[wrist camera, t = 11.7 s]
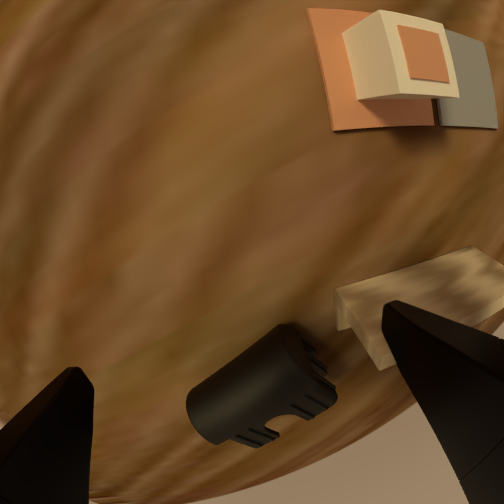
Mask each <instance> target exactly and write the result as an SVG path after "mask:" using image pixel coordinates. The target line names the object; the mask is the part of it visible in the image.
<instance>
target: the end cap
mask: <svg viewBox="0 0 504 504" xmlns="http://www.w3.org/2000/svg"><path fill="white" fill-rule="evenodd" d="M316 355H317V353H316V351H315V349H314V348H313V347H312V346H311V345H309V344H308V343H307V342H306V341H304V340H303V339H302V338H301V337H300V336H299V334H298V332H297V331H296V330H295V329H294V328H292V327H290V326H289V325H286V324H279V325H277V326H276V327H275V328H273V329H272V330H271V331H270V332H268V333H267V334H266V335H265V336H263V337H262V338H261V339H259V340H258V341H257V342H256V343H254V344H253V345H252V346H250V347H249V348H248V349H246V350H245V351H244V352H242V353H241V354H240V355H238V356H237V357H236V358H234V359H233V360H232V361H230V362H229V363H228V364H226V365H225V366H224V367H222V368H221V369H219V370H218V371H217V372H215V373H214V374H213V375H211V376H210V377H208V378H207V379H205V380H204V381H203V382H201V383H200V384H198V385H197V386H195V387H194V388H193V389H192V390H191V391H190V392H189V393H188V396H187V399H186V409H187V413H188V416H189V419H190V421H191V423H192V425H193V426H194V428H195V429H196V430H197V432H198V433H199V434H200V435H201V436H202V437H203V438H204V439H206V440H207V441H209V442H210V443H212V444H214V445H218V444H220V443H222V442H224V441H226V440H228V439H231V440H233V441H236V442H239V443H241V444H244V445H247V446H250V447H252V448H259V447H262V446H263V445H265V444H267V443H269V442H271V441H274V440H275V439H277V438H278V437H280V435H279V432H276V431H274V430H271V429H269V428H267V427H265V426H264V425H265V424H266V422H267V421H269V420H270V419H272V418H274V417H277V416H280V415H285V414H293V415H297V416H299V417H301V418H303V419H305V420H307V421H309V420H310V419H313V418H314V417H315V416H317V415H318V414H320V413H322V412H323V411H325V410H327V409H328V408H329V407H331V406H332V405H334V404H335V403H336V401H337V398H338V396H337V393H336V391H335V389H336V386H335V385H333V384H332V383H330V382H329V381H327V380H326V379H324V378H323V377H322V376H320V375H319V374H317V373H316V372H315V371H314V370H316V371H317V372H318V373H320V374H321V375H323V376H325V375H326V374H328V373H327V371H326V370H327V367H326V366H325V365H324V364H323V363H322V362H320V361H319V360H318V359H316V358H315V357H316Z"/></svg>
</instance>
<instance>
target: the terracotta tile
mask: <svg viewBox="0 0 504 504" xmlns="http://www.w3.org/2000/svg"><path fill="white" fill-rule="evenodd" d="M306 12H307V16H308V19H309V23H310V27H311V30H312V34H313V38H314V42H315V46H316V50H317V55H318V59H319V64H320V68H321V73H322V77H323V82H324V87H325V92H326V98H327V103H328V109H329V114H330V120H331V127H332V131H336V130H346V129H357V128H371V127H388V126H429V125H430V126H434V118H433V110H432V103H431V99H414V100H411V99H367V100H357V97H356V91H355V86H354V81H353V77H352V72H351V67H350V63H349V59H348V55H347V51H346V47H345V43H344V39H343V35H342V33H343V32H344V31H346V30H347V29H349V28H350V27H352V26H353V25H355V24H356V23H358V22H360V21H361V20H363V19H364V18H366V17H368V16H369V15H371V14H372V13H368V12H360V11H350V10H338V9H319V8H308V9H307V10H306Z"/></svg>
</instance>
